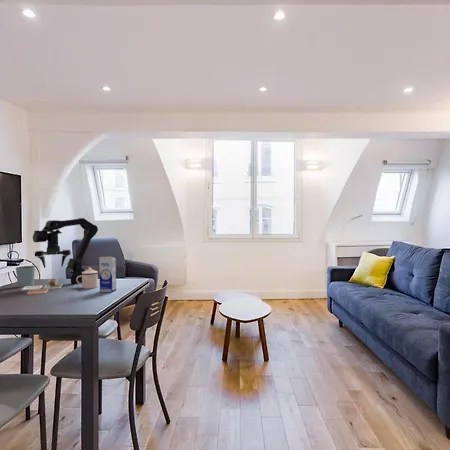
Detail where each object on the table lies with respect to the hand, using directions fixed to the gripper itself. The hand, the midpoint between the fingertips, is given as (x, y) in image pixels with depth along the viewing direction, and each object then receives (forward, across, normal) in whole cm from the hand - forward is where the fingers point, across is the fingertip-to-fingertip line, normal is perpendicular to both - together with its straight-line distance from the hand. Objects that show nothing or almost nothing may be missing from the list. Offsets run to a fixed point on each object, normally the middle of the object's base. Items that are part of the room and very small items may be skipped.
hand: (53, 267), depth 205 cm
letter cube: (+11, 0, -4) cm, 12 cm away
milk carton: (+12, +30, -25) cm, 41 cm away
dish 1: (+12, -11, -3) cm, 16 cm away
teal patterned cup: (+12, -17, +9) cm, 22 cm away
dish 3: (+12, 0, -4) cm, 12 cm away
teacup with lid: (+12, +19, -8) cm, 24 cm away
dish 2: (+12, -6, -16) cm, 21 cm away
